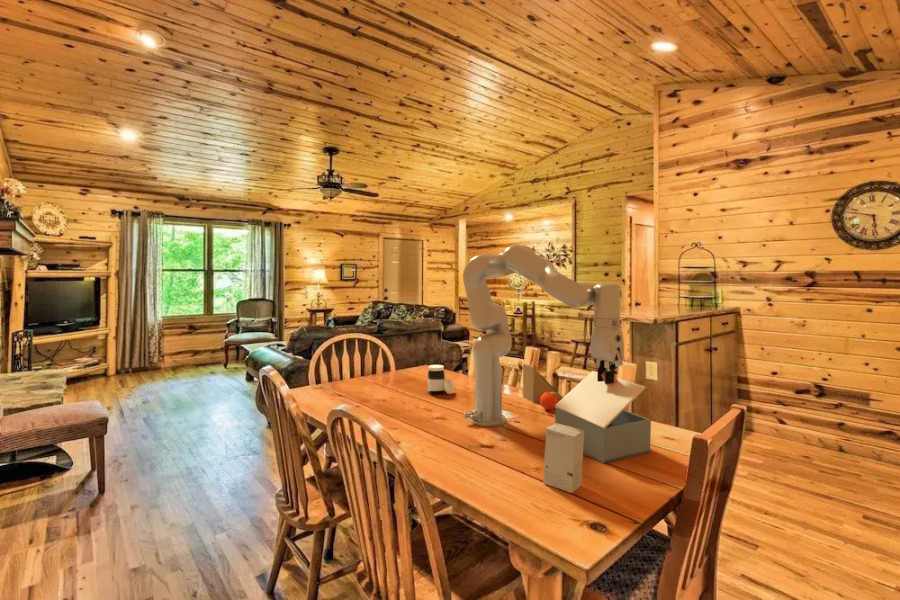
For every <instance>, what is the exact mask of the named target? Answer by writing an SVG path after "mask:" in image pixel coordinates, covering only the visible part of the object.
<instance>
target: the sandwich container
mask: <svg viewBox="0 0 900 600" xmlns="http://www.w3.org/2000/svg"><path fill="white" fill-rule="evenodd" d="M522 391H523V392H522V394H523V395H522V397H523V398H522V399H525V398H526V399H525V400H527V399H528V400H527V401H529V400H530V401H529V402H531V401H532V402H537V403H540V398H541V396H542V394H544V393H545V392H554V394H555V393H557V394H558V395H557V394H555V395H556V396H557V398H558V401H560V400H561V399H562V398H564V397H563V396H562V395H561V393H559V392H558V391H557V390H556V389H555V388H554V387H553V386H552V385H551V383H549V382H548V381H547V380H546V379H545V378H544V376H542V374H541V373H540V372H539V371H538V370H537V368H535V366H532V365H530V364H527V363H522ZM560 397H561V398H560ZM532 402H531V403H532Z"/></svg>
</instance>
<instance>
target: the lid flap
mask: <svg viewBox="0 0 900 600" xmlns="http://www.w3.org/2000/svg"><path fill="white" fill-rule="evenodd" d="M606 371H607V370H606ZM597 374H598V371H595V370H591V372H589V373H588V375H586V376H585V377H584V378H583V379H582V380H581V381H579V382H578V384H576V385H575V386H574V387H573V388H572V389H571V390H570V391H569V392H568V393H566V395H564V397H563V398H562V399H559V400H558V403H557V404H556V405H555V407H556V408H559V409H561V410H563V411H565V412H568V413H570V414H572V415H574V416H576V417H579V418H581V419H583V420H585V421H588V422H590V423H592V424H594V425H596V426H599V427H601V428H603V429H605V428H606V427H607V426H608V425H609V424H610V423H611V422H612V421H613V420H614V419H615V418H616V417H617V416H618V415H619V414H620V413H621V412H622V411H623V410H626V408H627V407H628V406H629V405H630V404H631V403H632V402H633V401H634V400H635V399H636V398H637V397H638V396H639V395H640V394H641V393H642V392H644V390H645V389H646V386H645V385H642V384H638V383H635V382H631V381H629V380H625V379H622V378H618V377H616V375H615V373H614V383H611V384H605V372H604V373H602V374H601V376H602V378H603V380H604V381H601V382H599V381H597Z"/></svg>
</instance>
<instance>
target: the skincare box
mask: <svg viewBox="0 0 900 600" xmlns="http://www.w3.org/2000/svg"><path fill="white" fill-rule="evenodd" d="M545 430H546V431H545V444H544V445H545V446H544V447H545V448H544V465H543V484H544V485H545V486H549V487H553V488H556V489H559V490H562V491H564V492H567V493H570V494H573V493H574V492H575V491H576V490H578V489H579V488H580V487H581V486H582V481H583V465H584V464H583V461H584V459H583V458H584V453H583V446H584V431H583V430H580V429H576V428H573V427H570V426H565V425H562V424H558V423H554V424H551V425H550V426H547V427H546V429H545Z"/></svg>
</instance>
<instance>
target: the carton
mask: <svg viewBox="0 0 900 600" xmlns="http://www.w3.org/2000/svg"><path fill="white" fill-rule="evenodd" d="M554 410H555V411H554V413H555V418H554V419H555V421H554V422H555V423H558V424H562V425H565V426H570V427H573V428H576V429H580V430H583V431H584V446H583V454H585V455H587V456H588V455H589V457H590V458H593V460H596V461H598V462H599V463H601V464H603V465H605V464H609V463H612V462H613V463H614V462H616V461H621V460H626V459H629V457H630V458H633V456H634V457H637V455H638V456H642V455H646V454H649V453H651V438H652V437H651V436H652V435H651V429H652V427H651V426H652V420H651V419H650V418H647V417H644V416H642V415H640V414H639V415H638V414H637V413H634V412H631V411H628V410H626V409H624V410H623V411H622V412H621V413H620V414H619V415H618V416H617V417H616V418H615V419H614V420H613V421H612V422H611V423H610V424H609V425H608V426H607V427H606V428H605V429H603V428H601V427H599V426H596V425H594V424H592V423H590V422H588V421H585V420H583V419H581V418H579V417H576V416H574V415H572V414H570V413H568V412H565V411H563V410H561V409H559V408H556V407H555V408H554ZM555 423H554V424H555ZM641 454H642V455H641ZM625 458H626V459H625Z"/></svg>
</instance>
